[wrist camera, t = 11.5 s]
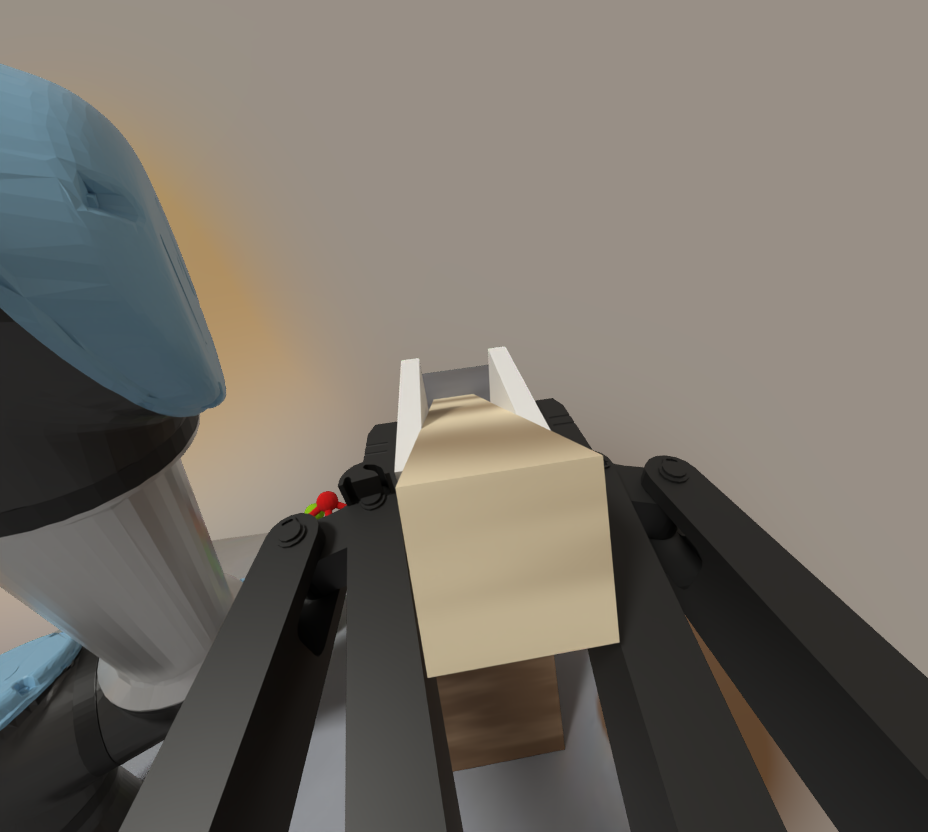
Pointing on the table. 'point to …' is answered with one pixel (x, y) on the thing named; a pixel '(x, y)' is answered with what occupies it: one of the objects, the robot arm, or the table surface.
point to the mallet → (502, 533)
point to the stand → (501, 712)
